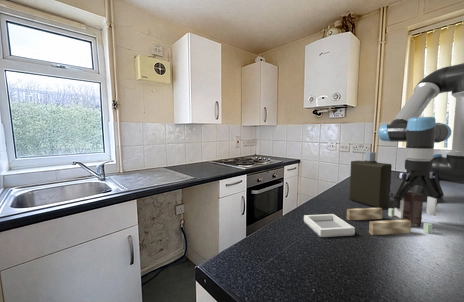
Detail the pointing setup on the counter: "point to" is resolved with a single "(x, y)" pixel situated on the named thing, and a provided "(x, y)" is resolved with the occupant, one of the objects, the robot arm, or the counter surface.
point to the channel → (379, 226)
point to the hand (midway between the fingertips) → (414, 215)
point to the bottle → (370, 182)
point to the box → (412, 208)
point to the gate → (427, 226)
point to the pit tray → (329, 225)
